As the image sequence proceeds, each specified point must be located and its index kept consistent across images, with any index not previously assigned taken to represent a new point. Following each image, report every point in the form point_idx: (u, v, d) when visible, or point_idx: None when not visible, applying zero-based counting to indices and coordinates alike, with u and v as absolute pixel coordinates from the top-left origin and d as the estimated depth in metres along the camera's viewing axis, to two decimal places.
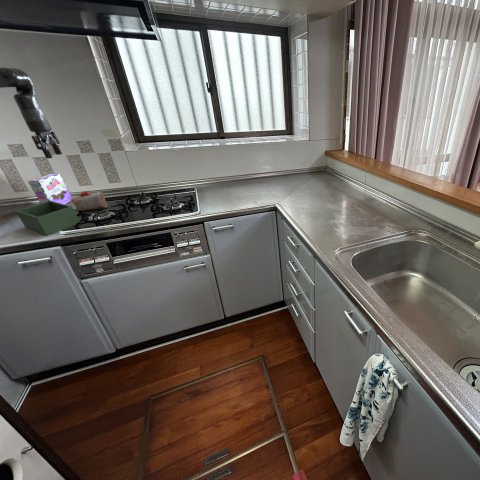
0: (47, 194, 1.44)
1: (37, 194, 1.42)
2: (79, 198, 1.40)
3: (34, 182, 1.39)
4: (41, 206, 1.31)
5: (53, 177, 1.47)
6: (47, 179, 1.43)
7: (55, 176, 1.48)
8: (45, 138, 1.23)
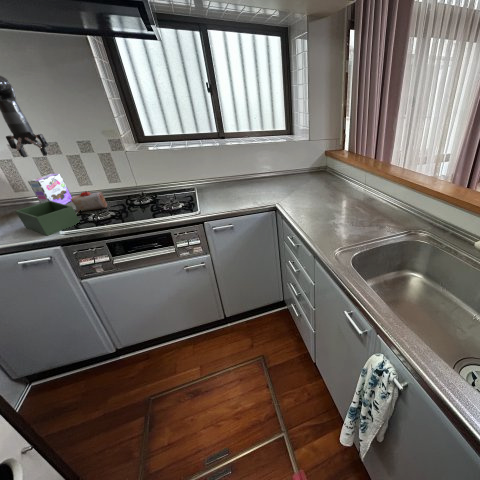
0: (47, 194, 1.44)
1: (37, 194, 1.42)
2: (79, 198, 1.40)
3: (34, 182, 1.39)
4: (41, 206, 1.31)
5: (53, 177, 1.47)
6: (47, 179, 1.43)
7: (55, 176, 1.48)
8: (18, 139, 1.31)
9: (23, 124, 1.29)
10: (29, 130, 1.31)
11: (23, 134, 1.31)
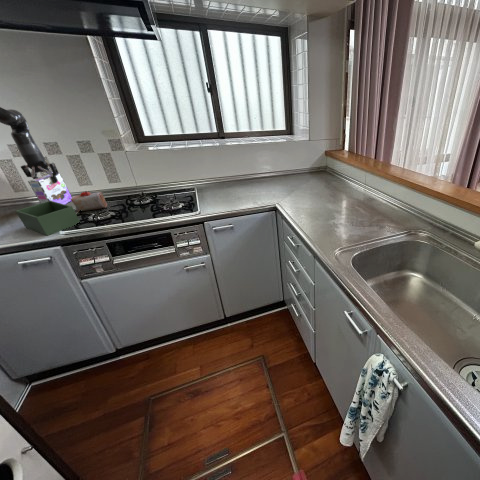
0: (47, 195, 1.44)
1: (37, 194, 1.42)
2: (79, 198, 1.40)
3: (34, 182, 1.39)
4: (41, 206, 1.31)
5: None
6: (47, 179, 1.43)
7: None
8: (32, 168, 1.40)
9: (36, 154, 1.37)
10: (42, 159, 1.40)
11: (36, 163, 1.40)
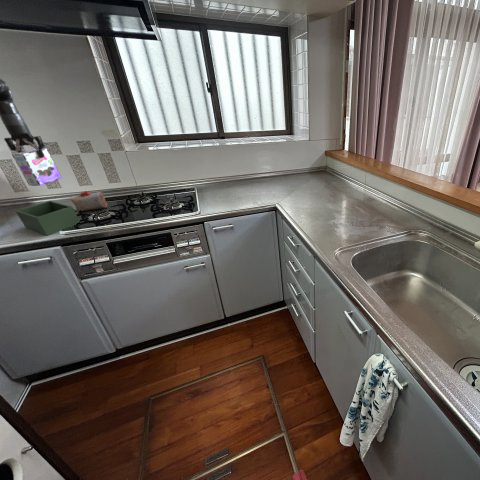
0: (33, 169, 1.36)
1: (22, 169, 1.35)
2: (79, 198, 1.40)
3: (18, 155, 1.32)
4: (41, 206, 1.31)
5: None
6: (33, 153, 1.36)
7: None
8: None
9: (21, 125, 1.30)
10: (27, 132, 1.33)
11: (21, 135, 1.32)
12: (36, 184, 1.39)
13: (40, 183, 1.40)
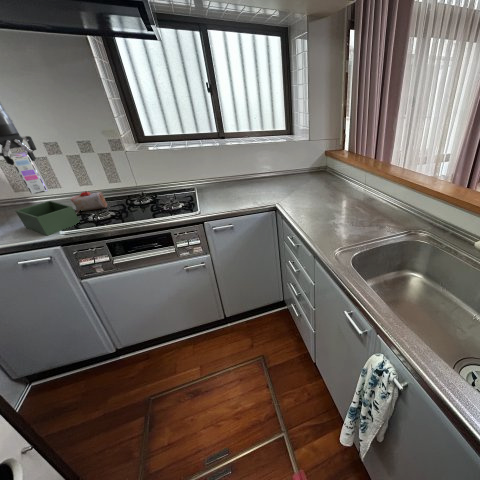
0: (37, 173, 1.20)
1: (24, 174, 1.17)
2: (79, 198, 1.40)
3: (21, 158, 1.15)
4: (41, 206, 1.31)
5: (27, 154, 1.22)
6: (28, 156, 1.19)
7: (27, 154, 1.22)
8: (5, 143, 1.13)
9: (13, 124, 1.14)
10: (17, 131, 1.16)
11: (10, 136, 1.14)
12: (43, 190, 1.23)
13: (46, 188, 1.24)
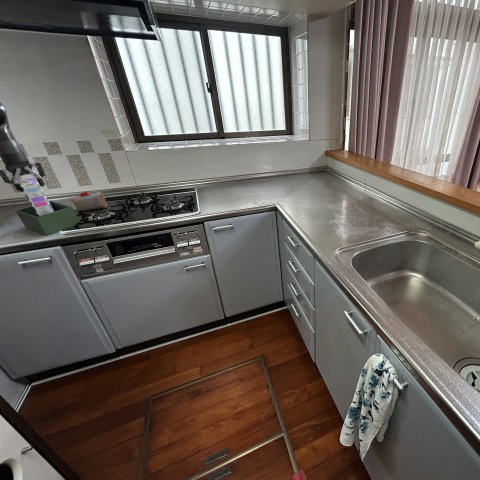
0: None
1: (34, 201, 1.17)
2: (79, 198, 1.40)
3: (31, 186, 1.15)
4: None
5: (36, 180, 1.22)
6: (37, 182, 1.20)
7: None
8: (15, 171, 1.14)
9: (23, 152, 1.14)
10: None
11: (20, 164, 1.15)
12: None
13: None
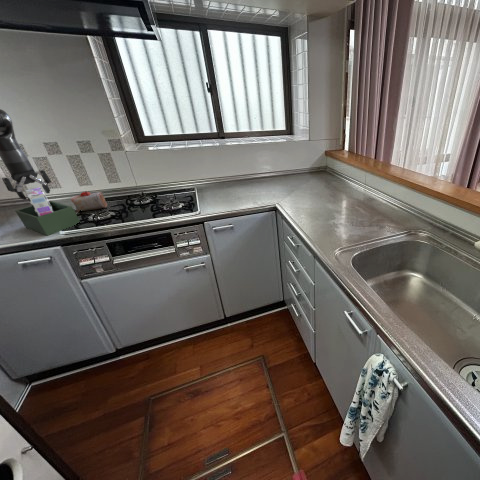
0: (52, 209, 1.23)
1: (40, 211, 1.20)
2: (79, 198, 1.40)
3: (38, 196, 1.18)
4: None
5: None
6: (43, 192, 1.22)
7: (41, 190, 1.25)
8: (20, 180, 1.15)
9: (28, 161, 1.16)
10: (32, 167, 1.18)
11: (26, 172, 1.17)
12: None
13: None
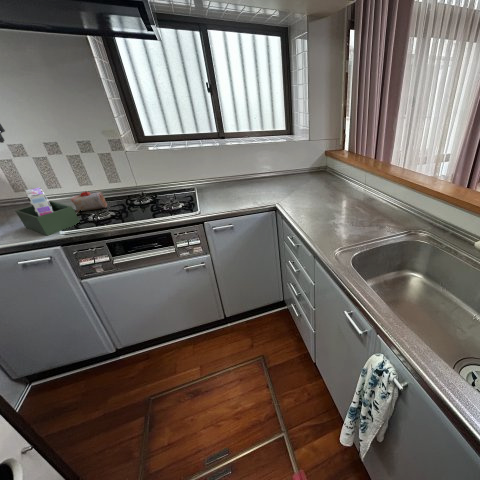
0: (52, 209, 1.23)
1: (40, 211, 1.20)
2: (79, 198, 1.40)
3: (38, 196, 1.18)
4: None
5: None
6: (43, 192, 1.22)
7: (41, 190, 1.25)
8: None
9: None
10: None
11: None
12: None
13: None
